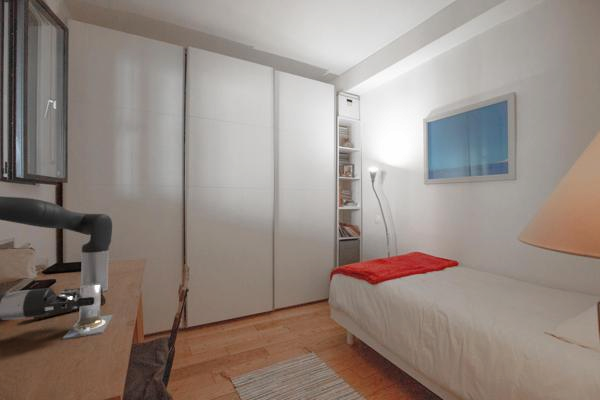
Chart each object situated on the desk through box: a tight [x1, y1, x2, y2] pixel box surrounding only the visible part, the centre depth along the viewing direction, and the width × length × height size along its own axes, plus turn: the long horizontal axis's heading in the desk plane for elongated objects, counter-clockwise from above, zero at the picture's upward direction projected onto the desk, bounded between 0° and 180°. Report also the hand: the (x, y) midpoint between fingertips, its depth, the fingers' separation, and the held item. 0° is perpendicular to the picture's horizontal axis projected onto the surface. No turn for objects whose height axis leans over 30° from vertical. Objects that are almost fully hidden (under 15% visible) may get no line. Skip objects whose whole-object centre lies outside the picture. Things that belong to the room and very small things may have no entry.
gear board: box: [62, 314, 114, 340], centre depth 80 cm, size 13×9×2 cm
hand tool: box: [33, 294, 106, 322], centre depth 91 cm, size 19×4×5 cm, turn 137°
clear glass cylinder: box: [77, 283, 102, 329], centre depth 81 cm, size 6×6×12 cm
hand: (98, 296), depth 81 cm, fingers open, 8 cm apart
